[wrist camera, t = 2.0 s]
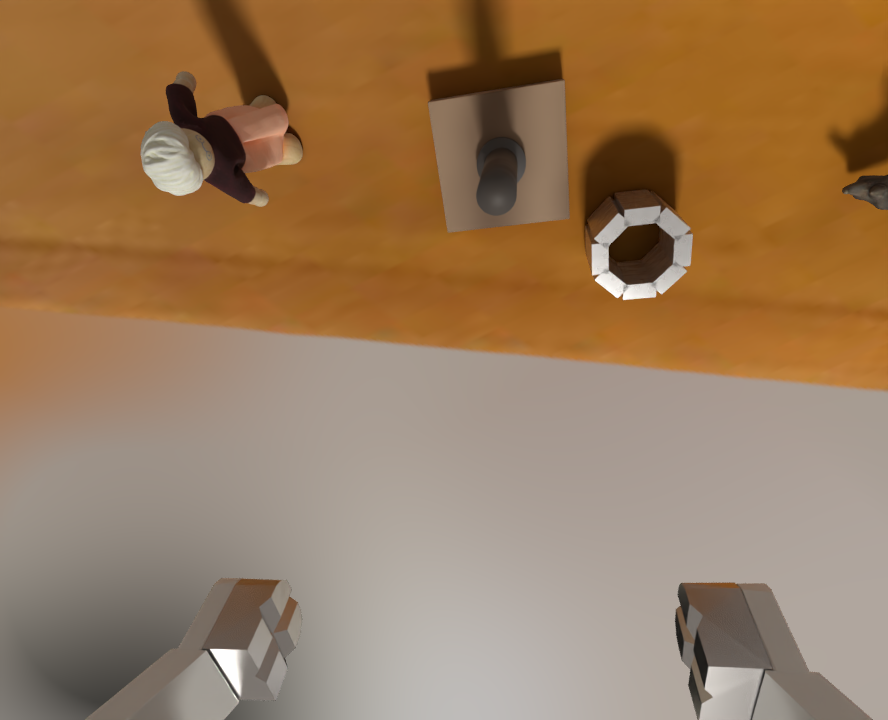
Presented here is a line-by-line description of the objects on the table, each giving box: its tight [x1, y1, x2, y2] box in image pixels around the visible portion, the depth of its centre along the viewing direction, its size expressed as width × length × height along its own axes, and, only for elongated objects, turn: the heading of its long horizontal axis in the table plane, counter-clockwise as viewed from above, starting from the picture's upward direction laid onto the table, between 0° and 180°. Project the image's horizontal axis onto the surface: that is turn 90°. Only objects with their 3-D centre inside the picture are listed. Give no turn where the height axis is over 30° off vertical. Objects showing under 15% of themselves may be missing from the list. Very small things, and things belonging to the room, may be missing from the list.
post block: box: [428, 79, 570, 232], centre depth 30 cm, size 8×8×10 cm
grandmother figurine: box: [141, 72, 303, 207], centre depth 30 cm, size 8×4×13 cm, turn 37°
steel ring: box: [585, 189, 693, 300], centre depth 34 cm, size 6×6×4 cm
